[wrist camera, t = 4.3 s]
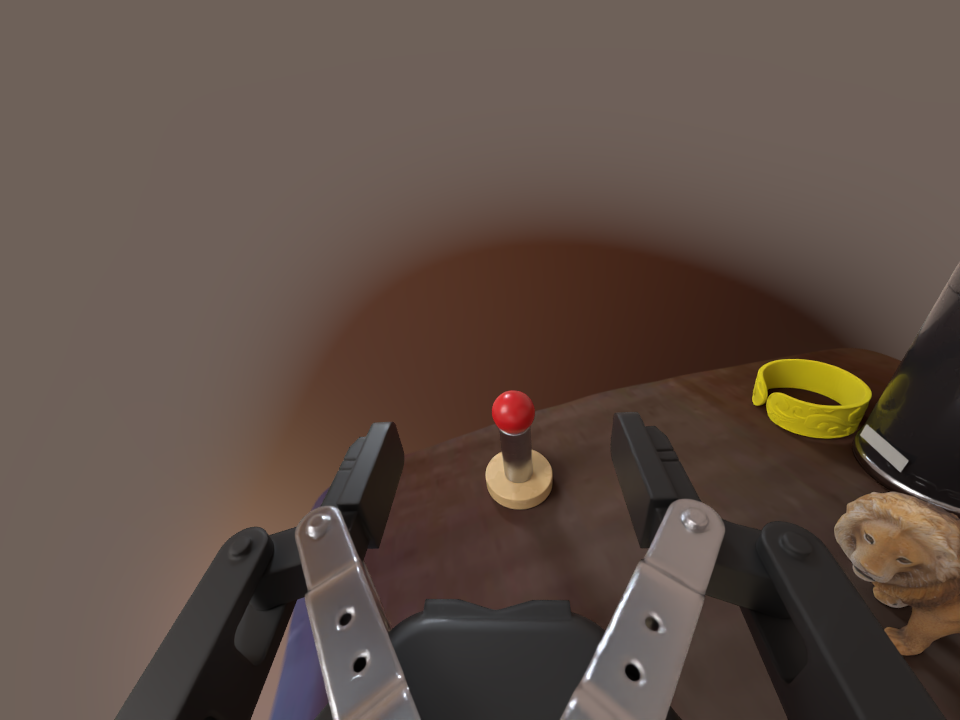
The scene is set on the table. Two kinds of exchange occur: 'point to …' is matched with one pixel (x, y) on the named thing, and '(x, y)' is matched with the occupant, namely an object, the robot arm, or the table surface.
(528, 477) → the red ball post
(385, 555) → the table surface
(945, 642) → the table surface
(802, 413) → the bracelet
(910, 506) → the lion figurine
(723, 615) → the table surface
